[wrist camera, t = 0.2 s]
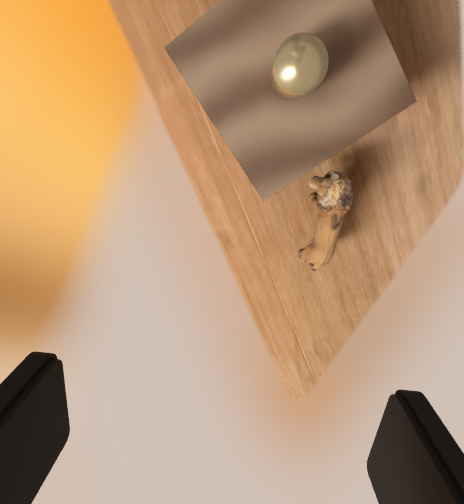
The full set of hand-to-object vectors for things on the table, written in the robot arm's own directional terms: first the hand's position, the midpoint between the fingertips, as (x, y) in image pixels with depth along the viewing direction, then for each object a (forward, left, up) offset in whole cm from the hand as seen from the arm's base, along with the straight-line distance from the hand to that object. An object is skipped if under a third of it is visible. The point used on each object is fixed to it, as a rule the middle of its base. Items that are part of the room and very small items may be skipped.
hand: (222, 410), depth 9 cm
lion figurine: (+9, +6, -37) cm, 38 cm away
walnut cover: (-7, +11, -36) cm, 38 cm away
